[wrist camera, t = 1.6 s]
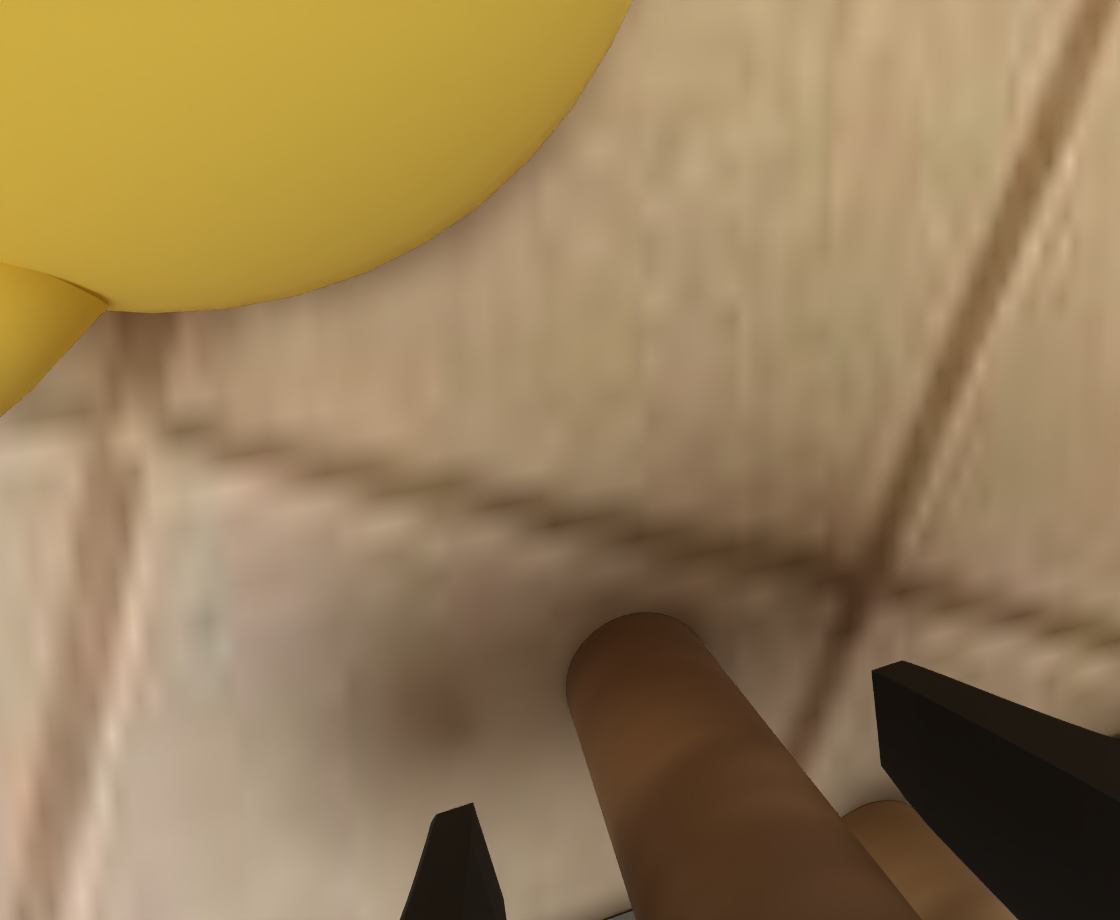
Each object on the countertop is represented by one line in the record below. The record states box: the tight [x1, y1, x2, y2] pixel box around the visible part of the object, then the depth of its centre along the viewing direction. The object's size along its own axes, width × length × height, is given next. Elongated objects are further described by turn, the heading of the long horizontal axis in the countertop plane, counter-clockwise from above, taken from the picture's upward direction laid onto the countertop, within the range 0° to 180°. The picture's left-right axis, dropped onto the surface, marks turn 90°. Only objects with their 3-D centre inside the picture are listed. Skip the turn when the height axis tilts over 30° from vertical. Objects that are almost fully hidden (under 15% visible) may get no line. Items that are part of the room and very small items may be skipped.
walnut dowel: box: [566, 613, 922, 920], centre depth 9 cm, size 3×3×8 cm
